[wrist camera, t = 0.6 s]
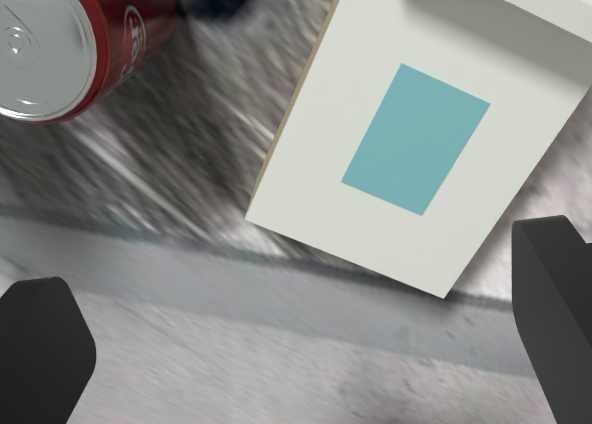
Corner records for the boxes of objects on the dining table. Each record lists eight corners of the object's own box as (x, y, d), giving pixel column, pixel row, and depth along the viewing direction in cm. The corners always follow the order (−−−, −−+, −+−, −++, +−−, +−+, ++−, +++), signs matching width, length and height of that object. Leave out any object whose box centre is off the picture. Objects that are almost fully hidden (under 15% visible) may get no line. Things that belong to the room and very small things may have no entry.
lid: (389, -114, 24) (397, -121, 21) (634, 9, 26) (679, 21, 23) (246, 214, 32) (236, 246, 29) (441, 291, 34) (453, 330, 31)
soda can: (204, 21, 32) (142, 67, 22) (115, 89, 35) (20, 160, 24) (121, -95, 30) (4, -107, 19) (31, -14, 32) (-119, 15, 21)
